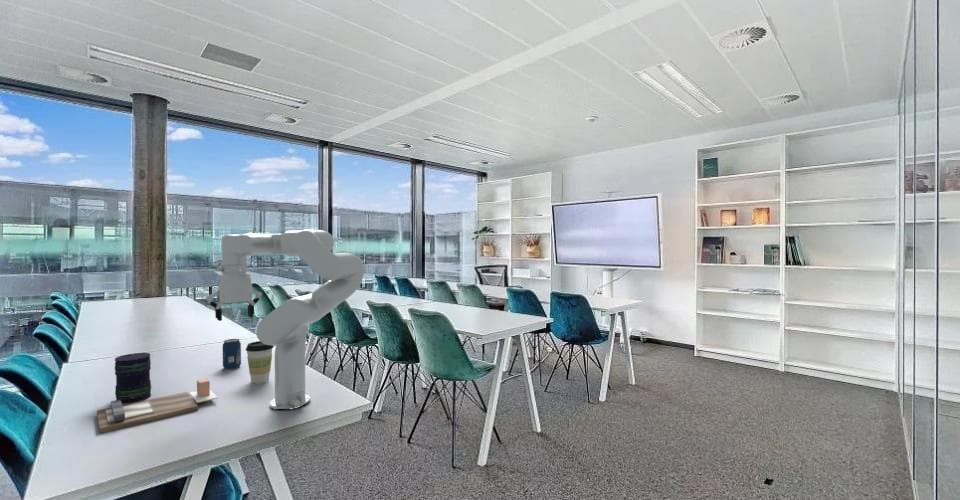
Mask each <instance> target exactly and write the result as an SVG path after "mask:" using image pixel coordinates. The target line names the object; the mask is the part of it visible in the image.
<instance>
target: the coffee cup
mask: <svg viewBox="0 0 960 500" xmlns="http://www.w3.org/2000/svg"><path fill="white" fill-rule="evenodd" d="M274 346H275V345H266V344H263V343H262V342H260V341H259V340H258V341H253V342H250V343H248V344H247V346H246V348H245V351H246V354H247V356H246V357H247V363H248V370H249V376H250V383H251V384H253V383H260V384H263V383H262V382H265V383H267V382H269V381H268V380H270V373H271V368H272V359H273V349H274ZM266 381H267V382H266Z"/></svg>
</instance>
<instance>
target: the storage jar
mask: <svg viewBox="0 0 960 500" xmlns="http://www.w3.org/2000/svg"><path fill="white" fill-rule="evenodd" d="M114 362H115V363H114V375H115V381H116V383H115V387H114V388H115V392H114V394H115V398H116V399H115V401H116V400H121V403H122V405H125V404H130V403H135V402H140V401H145V400H149V398H151V396H152V393H151V392H152V384H151V383H152V381H151V376H150V374H151V363H152V362H151V353H150V352H149V353H148V352H137V353H135V352H134V353H128V354H123V355H120V356H117V357H115V358H114Z"/></svg>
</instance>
